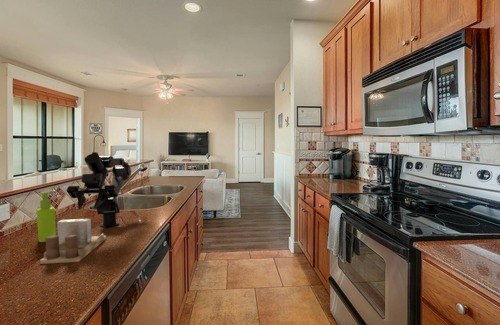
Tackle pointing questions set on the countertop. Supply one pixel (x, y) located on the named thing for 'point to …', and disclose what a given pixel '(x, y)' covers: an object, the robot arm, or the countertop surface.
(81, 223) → the white square slab
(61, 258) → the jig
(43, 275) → the countertop surface
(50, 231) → the soap dispenser
